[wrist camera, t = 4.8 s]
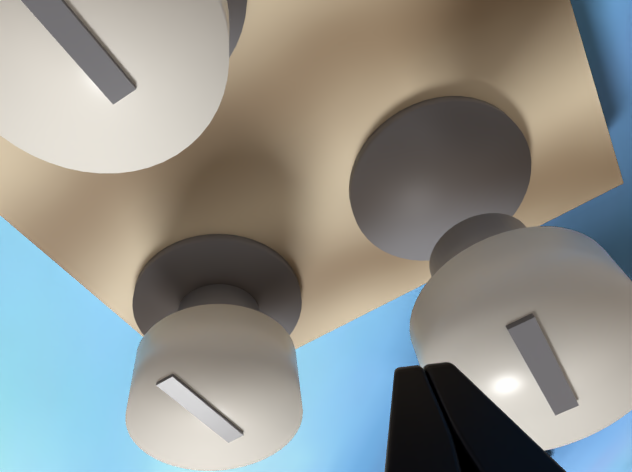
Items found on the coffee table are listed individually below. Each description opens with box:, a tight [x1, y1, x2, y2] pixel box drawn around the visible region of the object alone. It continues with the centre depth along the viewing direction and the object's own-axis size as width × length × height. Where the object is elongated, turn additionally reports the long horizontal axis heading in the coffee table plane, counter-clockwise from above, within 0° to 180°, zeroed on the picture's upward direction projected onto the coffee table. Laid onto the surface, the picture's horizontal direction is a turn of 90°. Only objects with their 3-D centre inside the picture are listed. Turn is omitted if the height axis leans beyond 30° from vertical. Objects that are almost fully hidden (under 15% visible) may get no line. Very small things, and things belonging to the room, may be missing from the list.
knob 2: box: [126, 284, 303, 471], centre depth 17 cm, size 5×5×4 cm
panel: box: [0, 0, 623, 349], centre depth 16 cm, size 16×16×2 cm
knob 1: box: [0, 0, 229, 173], centre depth 11 cm, size 5×5×4 cm
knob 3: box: [410, 213, 632, 451], centre depth 13 cm, size 5×5×4 cm
